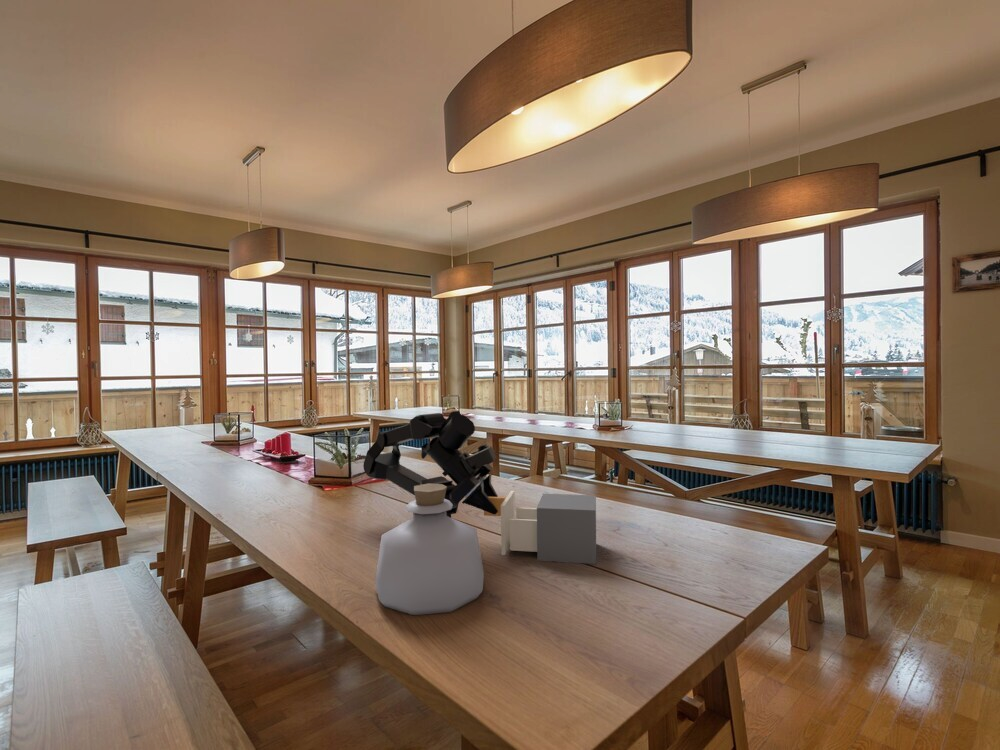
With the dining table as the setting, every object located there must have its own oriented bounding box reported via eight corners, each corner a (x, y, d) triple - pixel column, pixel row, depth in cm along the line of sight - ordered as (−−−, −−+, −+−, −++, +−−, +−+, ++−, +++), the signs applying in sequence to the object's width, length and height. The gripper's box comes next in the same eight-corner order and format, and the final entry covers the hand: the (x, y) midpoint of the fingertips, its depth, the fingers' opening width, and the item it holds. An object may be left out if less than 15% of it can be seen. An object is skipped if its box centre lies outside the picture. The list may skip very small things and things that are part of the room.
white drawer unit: (478, 553, 106) (477, 504, 106) (490, 533, 118) (490, 490, 118) (556, 558, 103) (555, 507, 103) (560, 537, 115) (560, 492, 115)
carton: (537, 560, 104) (536, 508, 104) (543, 540, 116) (543, 493, 115) (596, 564, 102) (595, 510, 101) (596, 543, 113) (595, 495, 113)
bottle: (506, 581, 94) (505, 481, 94) (443, 629, 77) (441, 507, 77) (423, 561, 104) (422, 471, 104) (351, 600, 88) (349, 492, 87)
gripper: (463, 440, 103) (517, 495, 101) (483, 429, 121) (529, 475, 119) (427, 477, 105) (479, 532, 103) (453, 461, 123) (497, 507, 121)
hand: (498, 509), depth 111 cm, fingers open, 5 cm apart
